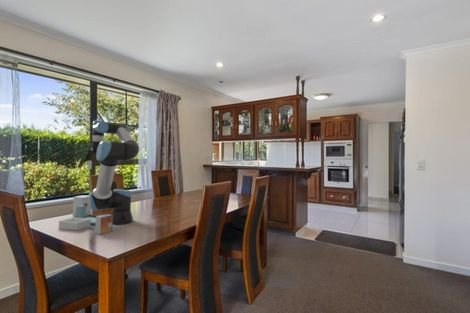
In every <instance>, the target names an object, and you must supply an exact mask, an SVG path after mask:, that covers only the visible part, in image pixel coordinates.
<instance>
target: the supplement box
mask: <svg viewBox="0 0 470 313" xmlns="http://www.w3.org/2000/svg"><path fill="white" fill-rule="evenodd" d="M72 201H73V202H72V216H73V217H76V207H77V206H79V205H86V216H85V217H87V216H90V215H92V209H91V207H90V200H89V195H77V196H76V195H75V196H73V200H72Z"/></svg>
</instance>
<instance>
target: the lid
mask: <svg viewBox="0 0 470 313" xmlns="http://www.w3.org/2000/svg"><path fill="white" fill-rule="evenodd" d="M75 218H84V219H90V223H91V224H96V217H93V216H91V217H90V216H88V217H87V216H86V205H79V206H77V207H76V216H75Z"/></svg>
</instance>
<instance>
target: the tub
mask: <svg viewBox="0 0 470 313" xmlns="http://www.w3.org/2000/svg"><path fill="white" fill-rule="evenodd" d="M90 227H91V225H90V219H84V218H76V217H75V216H73V217H70V218H69V217H68V218H65V219H61V220H59V221H58V230H63V231H64V230H66V231H75V232H78V231H82V230H84V229H87V228H90Z"/></svg>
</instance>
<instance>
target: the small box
mask: <svg viewBox="0 0 470 313" xmlns="http://www.w3.org/2000/svg"><path fill="white" fill-rule="evenodd" d="M95 218H96V225H95V227H94V228H95V231H94V233H95V234H97V235H102V234H108V233H112V232H113V225H114V224H113V215H112V213H111V214H109V213H106V214H101V215H96V216H95Z"/></svg>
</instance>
